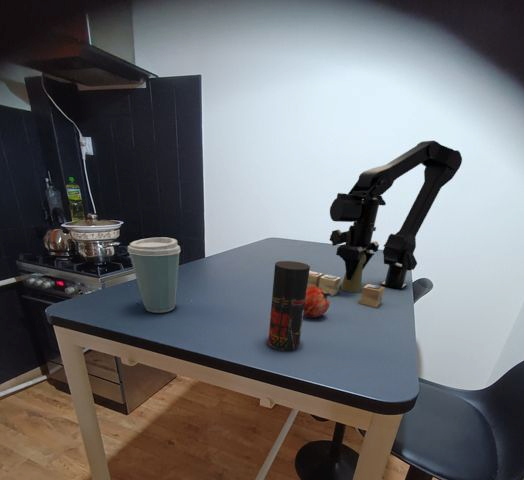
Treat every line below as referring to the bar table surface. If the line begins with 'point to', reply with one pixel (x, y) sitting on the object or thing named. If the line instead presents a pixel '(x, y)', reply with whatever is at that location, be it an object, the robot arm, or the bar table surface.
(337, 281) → the block
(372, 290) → the block
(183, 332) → the bar table surface
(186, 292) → the bar table surface
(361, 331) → the bar table surface
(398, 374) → the bar table surface
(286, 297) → the deodorant
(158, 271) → the disposable coffee cup
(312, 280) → the block
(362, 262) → the olive tapered pawn
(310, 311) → the pomegranate
